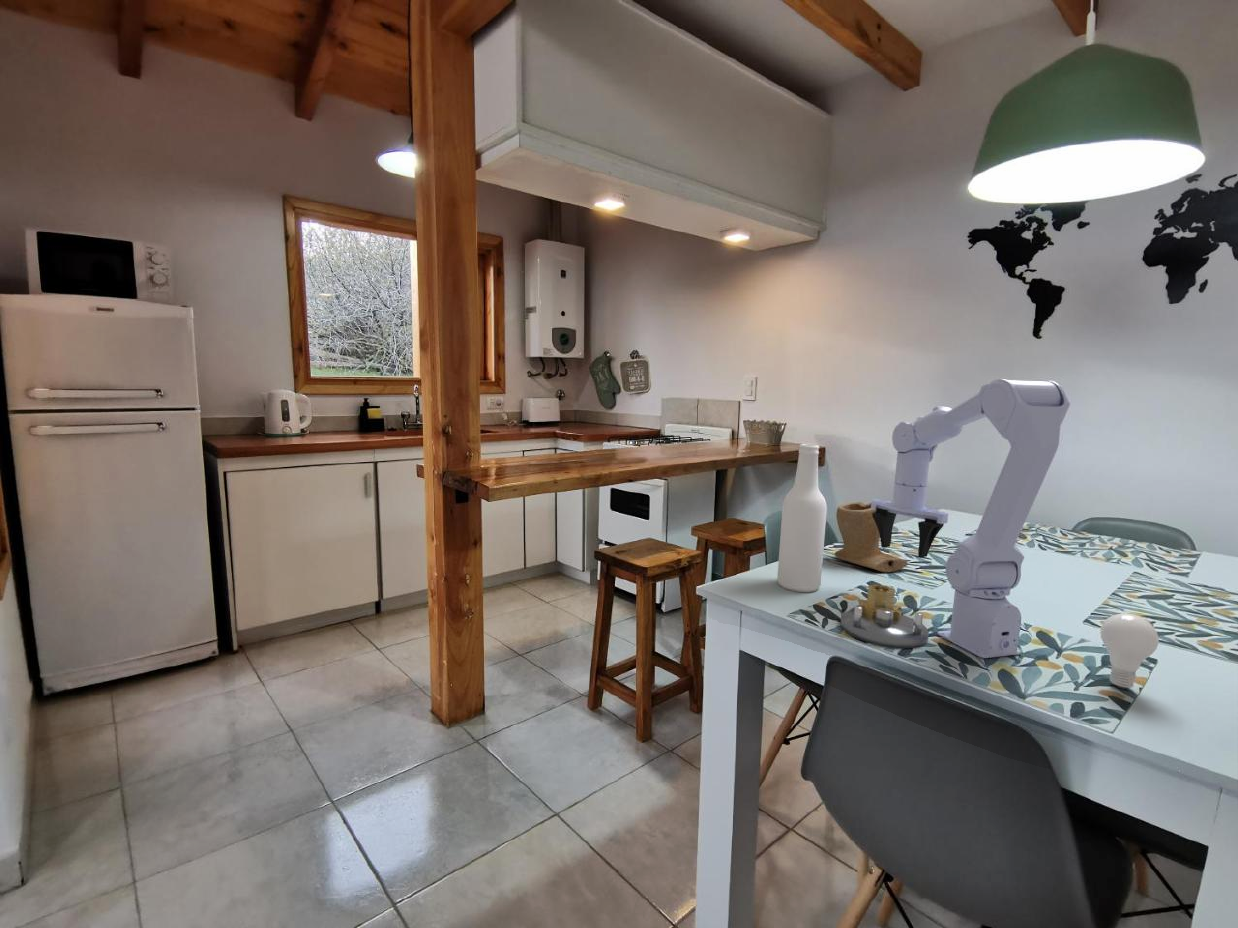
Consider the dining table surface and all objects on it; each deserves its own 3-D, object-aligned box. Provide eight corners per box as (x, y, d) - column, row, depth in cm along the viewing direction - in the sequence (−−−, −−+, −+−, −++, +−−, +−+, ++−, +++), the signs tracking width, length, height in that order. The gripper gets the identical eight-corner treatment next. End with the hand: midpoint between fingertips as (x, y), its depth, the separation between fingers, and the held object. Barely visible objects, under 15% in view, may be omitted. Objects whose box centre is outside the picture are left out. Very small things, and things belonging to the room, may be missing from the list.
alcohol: (829, 589, 125) (841, 446, 121) (800, 595, 121) (811, 448, 116) (796, 576, 133) (807, 441, 128) (768, 582, 128) (777, 443, 124)
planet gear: (909, 617, 108) (912, 593, 107) (878, 621, 106) (880, 597, 105) (880, 603, 115) (882, 580, 114) (849, 606, 112) (851, 583, 112)
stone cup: (821, 559, 147) (826, 499, 144) (855, 554, 152) (860, 496, 150) (873, 578, 133) (879, 512, 131) (908, 571, 139) (915, 508, 137)
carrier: (947, 643, 100) (950, 617, 99) (876, 651, 96) (879, 623, 96) (888, 612, 113) (891, 588, 113) (824, 617, 110) (826, 593, 109)
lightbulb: (1158, 702, 83) (1170, 627, 82) (1102, 692, 85) (1113, 619, 84) (1138, 681, 89) (1149, 611, 87) (1086, 672, 91) (1096, 603, 90)
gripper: (958, 488, 114) (951, 557, 116) (886, 477, 125) (880, 540, 127) (940, 491, 110) (932, 563, 112) (867, 479, 121) (861, 544, 123)
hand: (903, 551), depth 119 cm, fingers open, 7 cm apart
